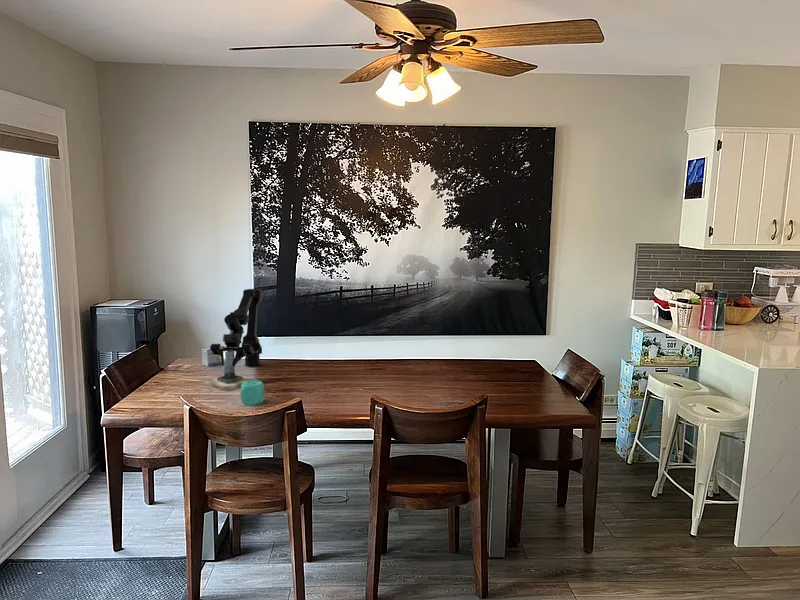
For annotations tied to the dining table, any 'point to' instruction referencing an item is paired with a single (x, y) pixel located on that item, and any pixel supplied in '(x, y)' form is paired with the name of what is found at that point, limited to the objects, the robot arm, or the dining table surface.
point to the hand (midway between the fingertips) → (228, 365)
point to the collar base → (228, 382)
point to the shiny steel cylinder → (228, 364)
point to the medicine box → (210, 357)
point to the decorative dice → (252, 392)
